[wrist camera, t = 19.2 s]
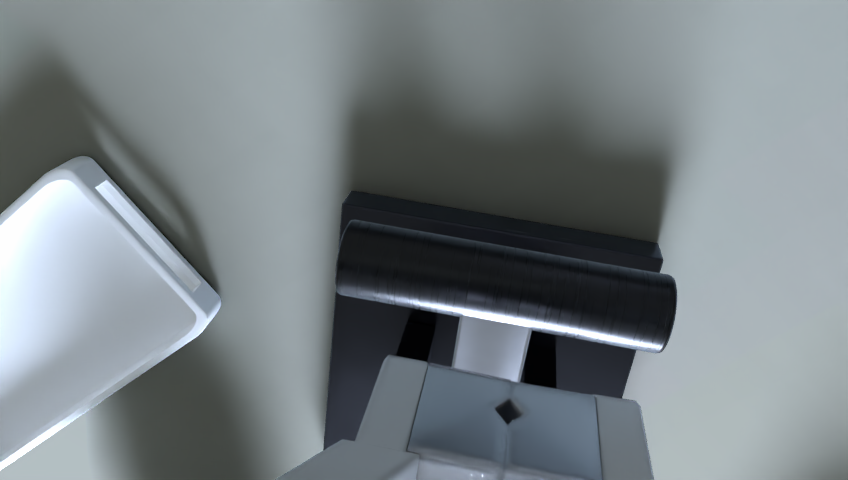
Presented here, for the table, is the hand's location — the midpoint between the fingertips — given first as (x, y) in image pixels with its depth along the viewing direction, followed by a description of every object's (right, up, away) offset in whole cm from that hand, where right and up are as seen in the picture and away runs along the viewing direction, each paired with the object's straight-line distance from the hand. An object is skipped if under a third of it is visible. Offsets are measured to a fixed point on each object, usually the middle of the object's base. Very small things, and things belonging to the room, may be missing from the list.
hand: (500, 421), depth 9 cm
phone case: (-16, -1, +20) cm, 26 cm away
